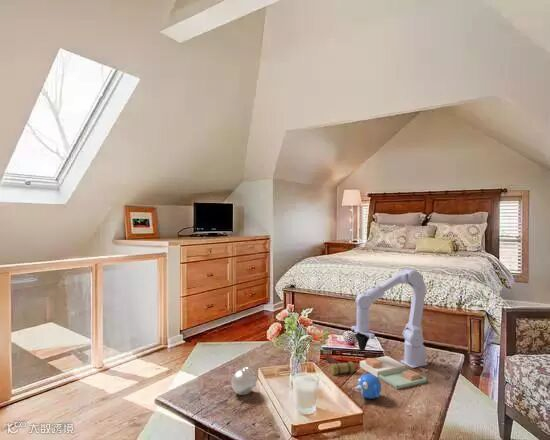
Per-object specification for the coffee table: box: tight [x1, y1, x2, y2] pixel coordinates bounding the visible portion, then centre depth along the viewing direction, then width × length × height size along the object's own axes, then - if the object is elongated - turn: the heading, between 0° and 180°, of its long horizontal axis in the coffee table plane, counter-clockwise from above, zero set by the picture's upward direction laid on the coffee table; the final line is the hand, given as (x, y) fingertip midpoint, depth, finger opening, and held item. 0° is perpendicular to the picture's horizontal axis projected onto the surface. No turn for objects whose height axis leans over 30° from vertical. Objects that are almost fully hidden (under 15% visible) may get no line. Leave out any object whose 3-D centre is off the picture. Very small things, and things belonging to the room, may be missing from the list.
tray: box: [377, 367, 428, 390], centre depth 149 cm, size 16×11×2 cm
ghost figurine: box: [230, 366, 257, 396], centre depth 136 cm, size 9×10×10 cm
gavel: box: [324, 354, 356, 376], centre depth 164 cm, size 21×5×10 cm
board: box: [359, 355, 407, 378], centre depth 160 cm, size 16×12×2 cm
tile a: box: [402, 369, 421, 381], centre depth 150 cm, size 5×5×2 cm
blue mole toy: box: [351, 373, 382, 400], centre depth 134 cm, size 12×12×8 cm
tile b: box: [365, 357, 382, 368], centre depth 158 cm, size 5×5×2 cm
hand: (362, 349), depth 165 cm, fingers closed
